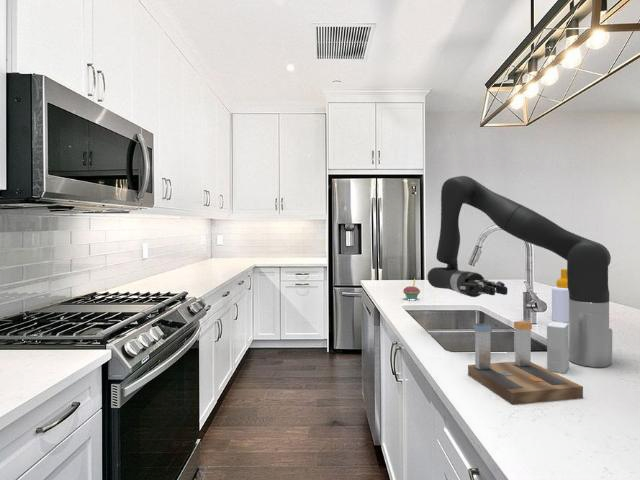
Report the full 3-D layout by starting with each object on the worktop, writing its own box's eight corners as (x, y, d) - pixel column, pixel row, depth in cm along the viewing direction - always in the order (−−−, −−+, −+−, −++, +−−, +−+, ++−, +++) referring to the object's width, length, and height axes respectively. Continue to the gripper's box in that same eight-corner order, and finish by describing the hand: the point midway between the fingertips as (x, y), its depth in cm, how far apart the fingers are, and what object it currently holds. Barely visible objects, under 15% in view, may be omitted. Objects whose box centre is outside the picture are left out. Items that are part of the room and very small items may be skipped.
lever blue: (486, 365, 102) (486, 323, 102) (491, 368, 100) (491, 325, 100) (474, 366, 101) (474, 323, 101) (479, 369, 99) (478, 326, 99)
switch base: (527, 369, 107) (527, 359, 107) (583, 397, 89) (583, 385, 89) (468, 374, 104) (468, 364, 104) (512, 404, 86) (512, 392, 86)
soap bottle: (569, 324, 155) (569, 271, 155) (546, 320, 162) (546, 270, 161) (582, 319, 164) (582, 268, 163) (560, 316, 170) (560, 267, 169)
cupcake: (422, 299, 214) (421, 276, 214) (416, 301, 207) (416, 278, 207) (406, 298, 219) (406, 275, 219) (400, 300, 212) (400, 277, 211)
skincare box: (550, 364, 111) (551, 320, 110) (569, 367, 108) (569, 322, 108) (546, 370, 106) (546, 325, 106) (565, 374, 103) (565, 327, 103)
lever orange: (526, 362, 104) (526, 320, 104) (531, 365, 102) (531, 322, 101) (514, 363, 103) (514, 321, 103) (519, 366, 101) (519, 323, 101)
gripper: (446, 272, 127) (476, 278, 110) (487, 270, 129) (523, 276, 112) (446, 295, 127) (476, 306, 110) (487, 294, 130) (523, 303, 113)
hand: (499, 291), depth 112 cm, fingers open, 3 cm apart
